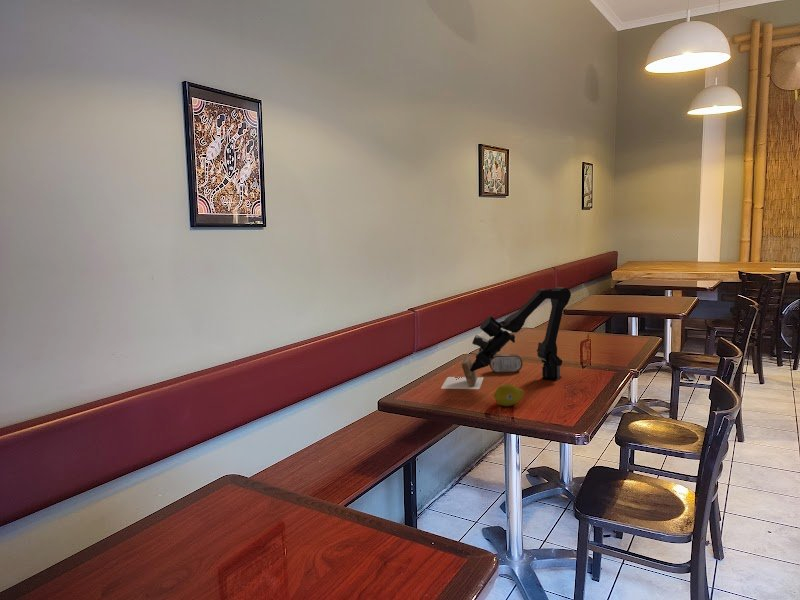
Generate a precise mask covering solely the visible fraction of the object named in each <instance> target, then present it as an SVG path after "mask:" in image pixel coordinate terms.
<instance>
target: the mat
mask: <svg viewBox="0 0 800 600" xmlns="http://www.w3.org/2000/svg"><path fill="white" fill-rule="evenodd" d="M455 377H456V376H448V377H447V378H446V379H445V380H444V383H443V384H442V386H441V388H440V389H446V390H447V389H448V390H449V389H450V390H451V389H452V390H453V389H455V390H480V389H481V387H482V383H483V381H484V377H483V376H481V377H480V376H477V377H478V378H477V380H476V383H475V385H474V386H470V387H469V386H468V383H467V380H466V377H465V376H457V377H458V378H459V377H460V378H459V379H458V378H455ZM461 377H462V378H461ZM456 379H457V380H456Z"/></svg>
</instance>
